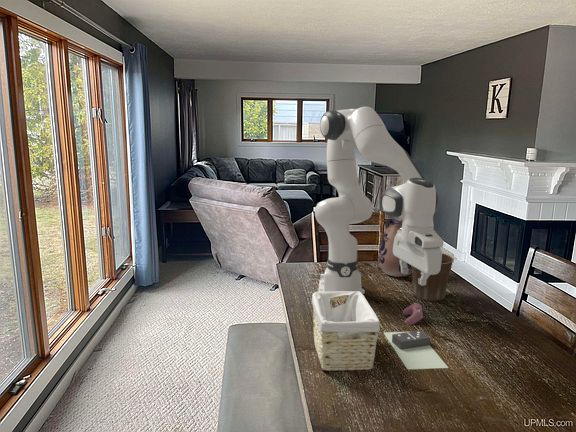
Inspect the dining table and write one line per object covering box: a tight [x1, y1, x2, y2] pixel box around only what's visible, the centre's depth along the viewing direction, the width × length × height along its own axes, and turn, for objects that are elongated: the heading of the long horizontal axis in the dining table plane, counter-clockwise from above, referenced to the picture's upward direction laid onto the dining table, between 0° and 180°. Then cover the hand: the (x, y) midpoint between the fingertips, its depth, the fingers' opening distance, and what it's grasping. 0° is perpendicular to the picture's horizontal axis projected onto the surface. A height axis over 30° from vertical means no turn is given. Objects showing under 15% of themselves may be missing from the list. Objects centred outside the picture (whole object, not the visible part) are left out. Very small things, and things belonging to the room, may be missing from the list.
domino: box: [392, 330, 431, 350], centre depth 132 cm, size 5×3×10 cm
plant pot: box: [411, 252, 455, 302], centre depth 170 cm, size 16×16×16 cm
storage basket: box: [311, 291, 381, 372], centre depth 127 cm, size 24×16×15 cm
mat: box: [383, 331, 449, 370], centre depth 129 cm, size 22×12×1 cm, turn 5°
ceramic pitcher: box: [377, 217, 412, 278], centre depth 196 cm, size 18×21×25 cm
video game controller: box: [402, 302, 424, 326], centre depth 149 cm, size 10×5×7 cm, turn 170°
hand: (412, 279), depth 130 cm, fingers open, 8 cm apart
